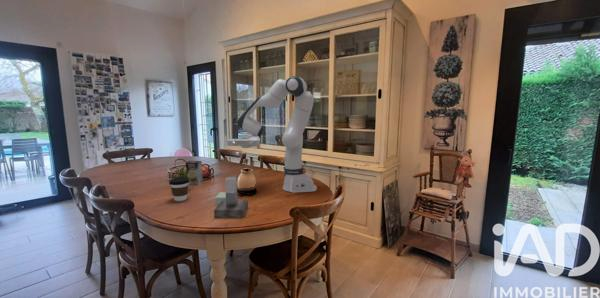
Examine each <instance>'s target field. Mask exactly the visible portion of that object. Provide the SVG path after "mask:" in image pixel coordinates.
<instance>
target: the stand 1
mask: <svg viewBox="0 0 600 298" xmlns="http://www.w3.org/2000/svg"><path fill="white" fill-rule="evenodd" d="M221 201H226V192H225V191H221V192H218V193H217V195H216V196H215V197H214V203H215V205H217V206H218V205H219V203H220V202H221Z"/></svg>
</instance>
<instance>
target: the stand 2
mask: <svg viewBox="0 0 600 298" xmlns="http://www.w3.org/2000/svg"><path fill="white" fill-rule="evenodd" d="M248 200H249V199H247V200H246V199H245V200H244V199H243V200H241V199H240V200H239V199H237V205H236V206H235V207H226V201H221V202H220V203H219V205H217V206H216V207H215V208H214V210H213V213H214V215H213V216H214V219H239V218H240V219H243V218H244V217H245V215H246V213H247V211H248V209H249V201H248Z"/></svg>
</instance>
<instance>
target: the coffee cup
mask: <svg viewBox="0 0 600 298" xmlns="http://www.w3.org/2000/svg"><path fill="white" fill-rule="evenodd" d="M188 183H189V179H188V178H187V177H186V178H180V177H179V178H178V177H177V178H176V177H175V178H172V179H170V180H169V183H168V184H169V185H170V188H171V194H172V196H173V200H174V201H175V202H183V201H186V200H187V198H188V192H189V191H188Z"/></svg>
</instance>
